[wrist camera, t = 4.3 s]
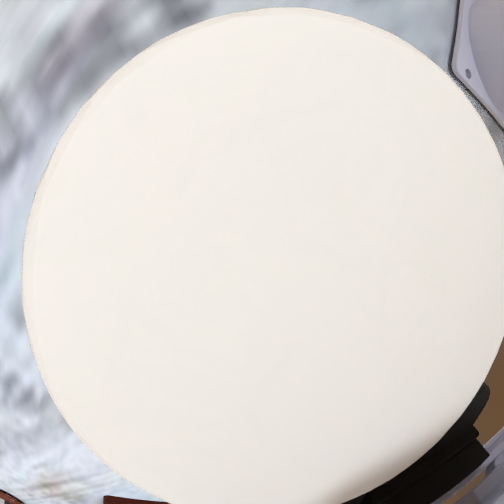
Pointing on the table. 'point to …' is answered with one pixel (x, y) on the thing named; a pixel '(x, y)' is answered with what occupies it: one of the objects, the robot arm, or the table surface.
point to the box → (128, 501)
